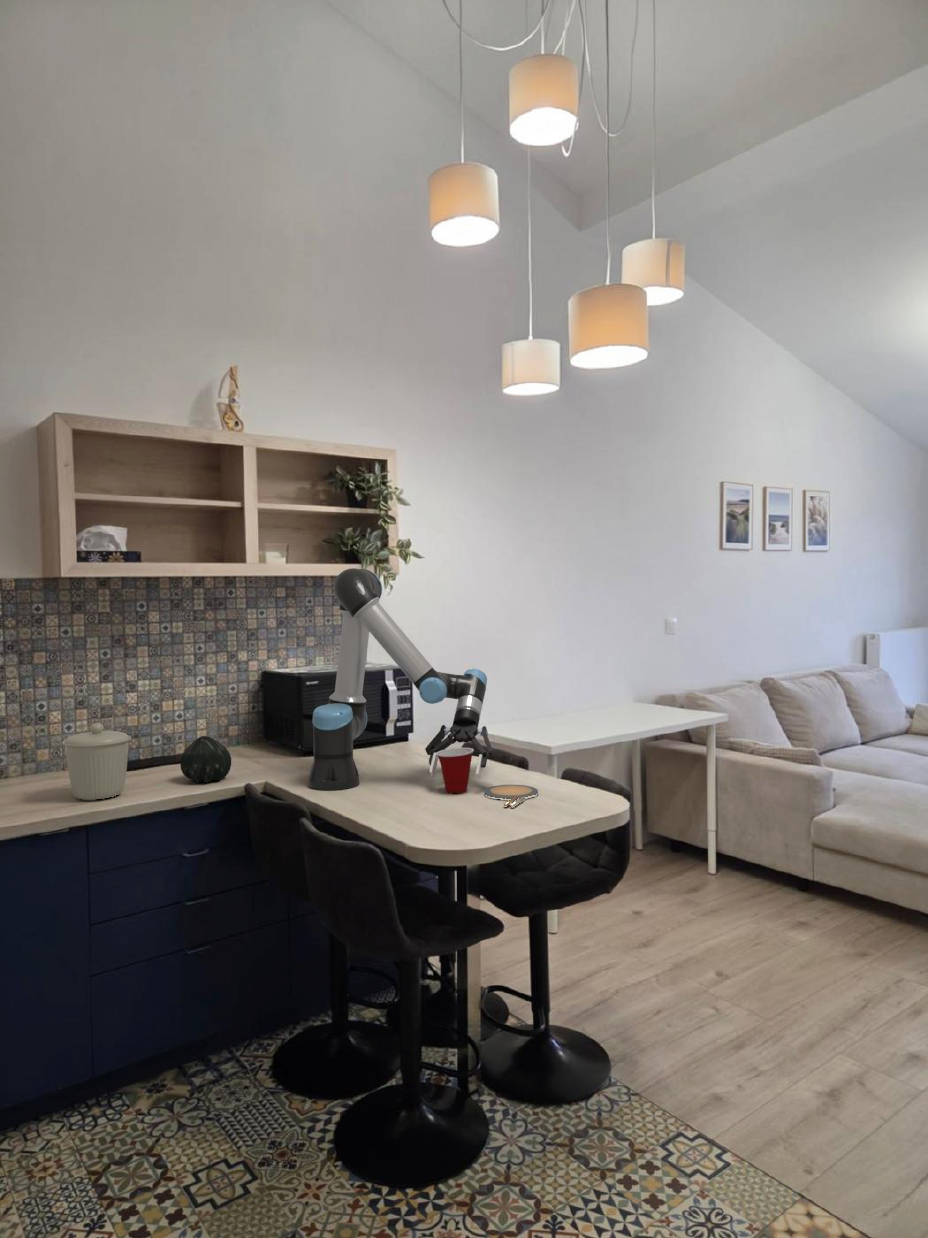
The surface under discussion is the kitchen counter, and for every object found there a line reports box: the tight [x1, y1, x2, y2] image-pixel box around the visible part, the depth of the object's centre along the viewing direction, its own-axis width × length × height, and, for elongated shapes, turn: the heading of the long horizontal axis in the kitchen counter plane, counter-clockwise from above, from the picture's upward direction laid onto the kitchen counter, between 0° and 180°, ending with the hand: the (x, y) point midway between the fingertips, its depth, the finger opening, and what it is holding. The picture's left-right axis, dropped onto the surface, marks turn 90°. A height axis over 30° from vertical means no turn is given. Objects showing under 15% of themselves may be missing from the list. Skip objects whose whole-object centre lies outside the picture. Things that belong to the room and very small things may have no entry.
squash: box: [180, 735, 232, 783], centre depth 261 cm, size 14×15×15 cm
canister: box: [61, 722, 132, 801], centre depth 242 cm, size 18×18×21 cm
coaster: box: [483, 784, 539, 799], centre depth 237 cm, size 15×15×1 cm
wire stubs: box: [503, 796, 525, 807], centre depth 226 cm, size 9×3×1 cm, turn 156°
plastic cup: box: [436, 747, 475, 794], centre depth 241 cm, size 11×11×12 cm
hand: (454, 775), depth 239 cm, fingers open, 13 cm apart
